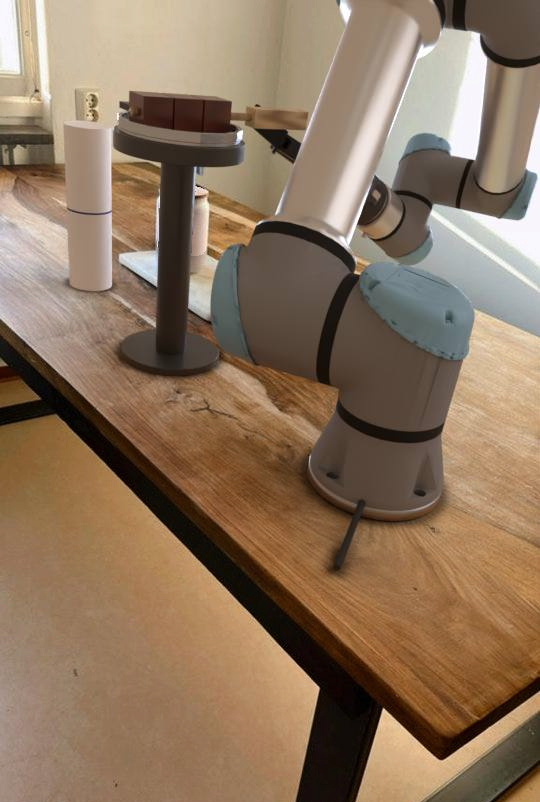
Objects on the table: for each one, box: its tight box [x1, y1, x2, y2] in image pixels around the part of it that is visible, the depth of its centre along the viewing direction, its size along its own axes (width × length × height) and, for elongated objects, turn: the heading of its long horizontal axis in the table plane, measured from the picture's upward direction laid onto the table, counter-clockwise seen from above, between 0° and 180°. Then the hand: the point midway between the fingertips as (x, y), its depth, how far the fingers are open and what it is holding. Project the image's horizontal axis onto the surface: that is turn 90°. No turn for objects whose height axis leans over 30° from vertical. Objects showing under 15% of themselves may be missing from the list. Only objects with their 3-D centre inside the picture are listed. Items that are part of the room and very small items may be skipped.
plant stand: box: [112, 100, 246, 377], centre depth 94 cm, size 16×23×30 cm
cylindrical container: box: [62, 119, 113, 292], centre depth 113 cm, size 7×7×25 cm
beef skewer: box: [128, 90, 310, 133], centre depth 86 cm, size 25×4×4 cm, turn 125°
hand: (280, 122), depth 91 cm, fingers open, 13 cm apart
